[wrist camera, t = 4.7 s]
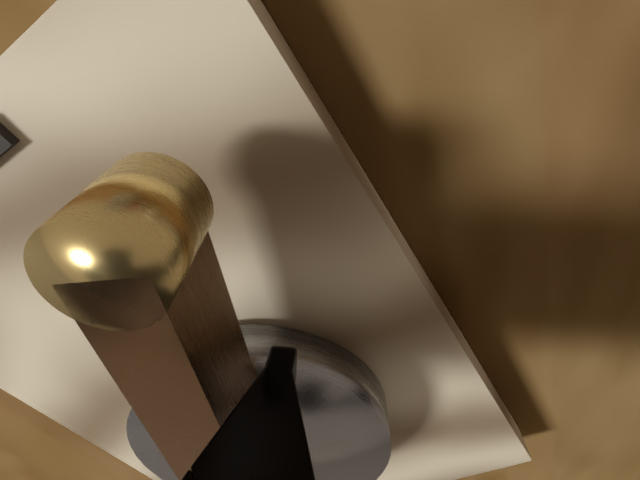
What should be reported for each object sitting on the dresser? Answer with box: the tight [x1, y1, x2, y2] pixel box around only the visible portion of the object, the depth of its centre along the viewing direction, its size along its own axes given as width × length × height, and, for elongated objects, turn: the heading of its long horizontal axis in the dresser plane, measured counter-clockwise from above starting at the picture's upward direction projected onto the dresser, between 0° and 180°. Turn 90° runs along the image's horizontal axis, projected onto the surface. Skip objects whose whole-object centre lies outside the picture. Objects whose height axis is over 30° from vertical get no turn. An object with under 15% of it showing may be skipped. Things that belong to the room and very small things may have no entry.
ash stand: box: [0, 0, 532, 480], centre depth 15 cm, size 22×16×2 cm
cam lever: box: [23, 152, 391, 480], centre depth 11 cm, size 15×9×4 cm, turn 7°
